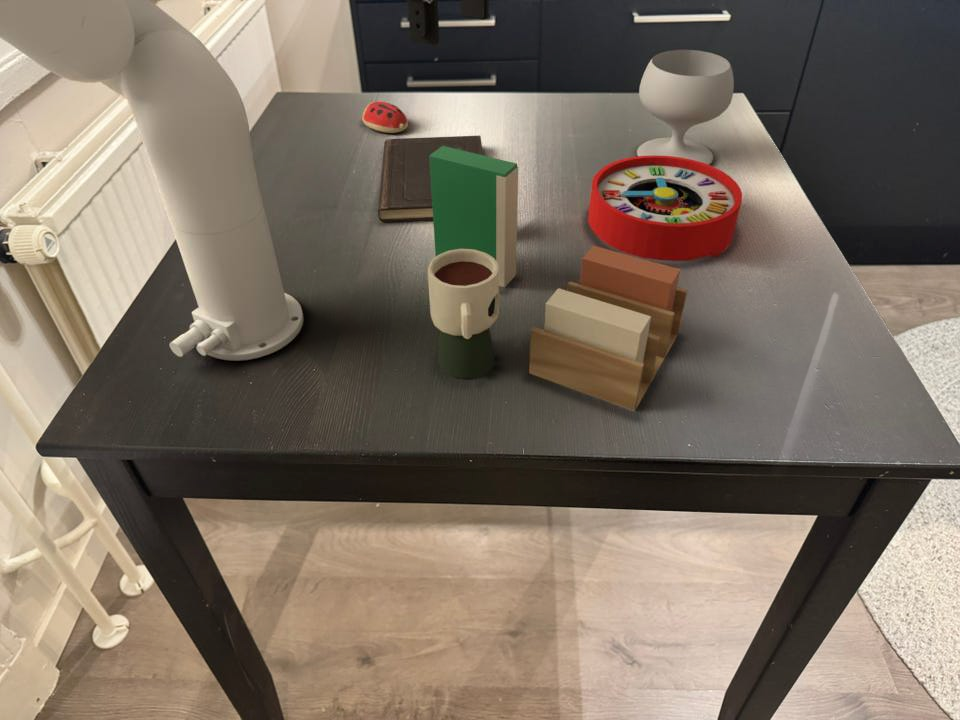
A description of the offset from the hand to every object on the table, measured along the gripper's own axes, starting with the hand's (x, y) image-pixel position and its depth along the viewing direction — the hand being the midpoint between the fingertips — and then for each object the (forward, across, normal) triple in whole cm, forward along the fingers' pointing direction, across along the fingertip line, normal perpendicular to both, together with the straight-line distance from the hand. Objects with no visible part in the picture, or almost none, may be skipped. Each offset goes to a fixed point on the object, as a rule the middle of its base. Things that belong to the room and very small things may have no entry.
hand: (450, 29), depth 76 cm
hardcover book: (+30, -17, -15) cm, 37 cm away
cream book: (+28, +12, +24) cm, 40 cm away
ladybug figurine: (+30, -31, -34) cm, 55 cm away
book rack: (+29, +8, +24) cm, 39 cm away
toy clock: (+29, -22, +20) cm, 42 cm away
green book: (+29, +1, +3) cm, 30 cm away
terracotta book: (+28, +3, +24) cm, 38 cm away
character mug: (+30, +17, +12) cm, 36 cm away
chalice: (+29, -44, +14) cm, 55 cm away
